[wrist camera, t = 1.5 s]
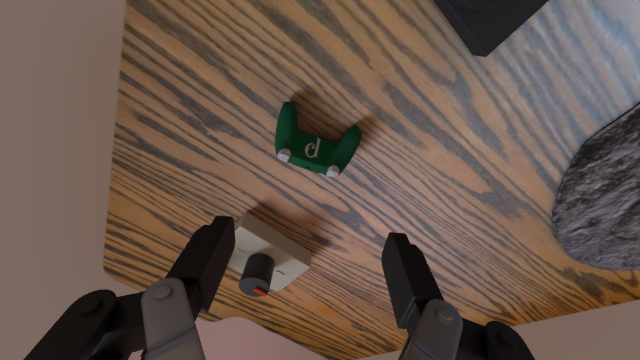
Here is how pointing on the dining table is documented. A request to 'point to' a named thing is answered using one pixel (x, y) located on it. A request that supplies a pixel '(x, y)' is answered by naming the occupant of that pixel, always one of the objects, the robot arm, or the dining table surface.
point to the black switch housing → (487, 20)
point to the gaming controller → (313, 145)
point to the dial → (257, 275)
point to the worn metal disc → (603, 198)
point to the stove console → (268, 250)
